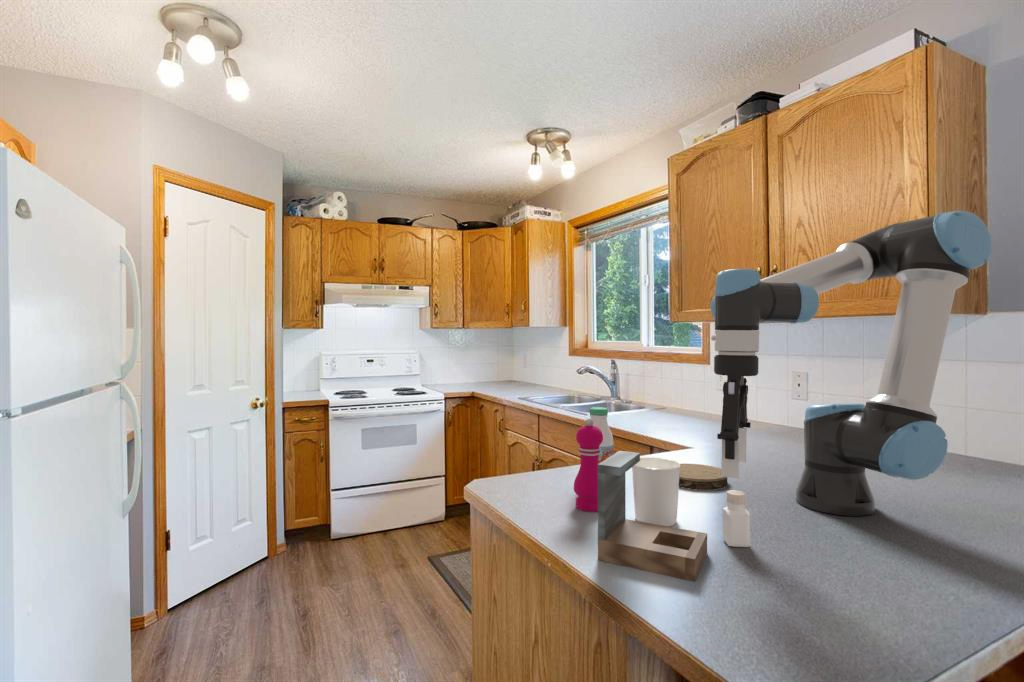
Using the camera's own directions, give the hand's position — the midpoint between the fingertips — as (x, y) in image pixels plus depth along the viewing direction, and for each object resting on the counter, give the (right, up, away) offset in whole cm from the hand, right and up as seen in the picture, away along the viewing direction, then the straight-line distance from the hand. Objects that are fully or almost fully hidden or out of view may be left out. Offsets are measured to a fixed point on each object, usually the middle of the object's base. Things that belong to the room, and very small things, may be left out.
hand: (734, 468), depth 95 cm
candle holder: (-11, -14, +12) cm, 22 cm away
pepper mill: (-24, -14, +21) cm, 34 cm away
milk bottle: (-19, -14, +37) cm, 44 cm away
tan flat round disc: (+7, -14, +41) cm, 44 cm away
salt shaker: (0, -14, 0) cm, 14 cm away
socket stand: (-16, -14, -5) cm, 22 cm away
